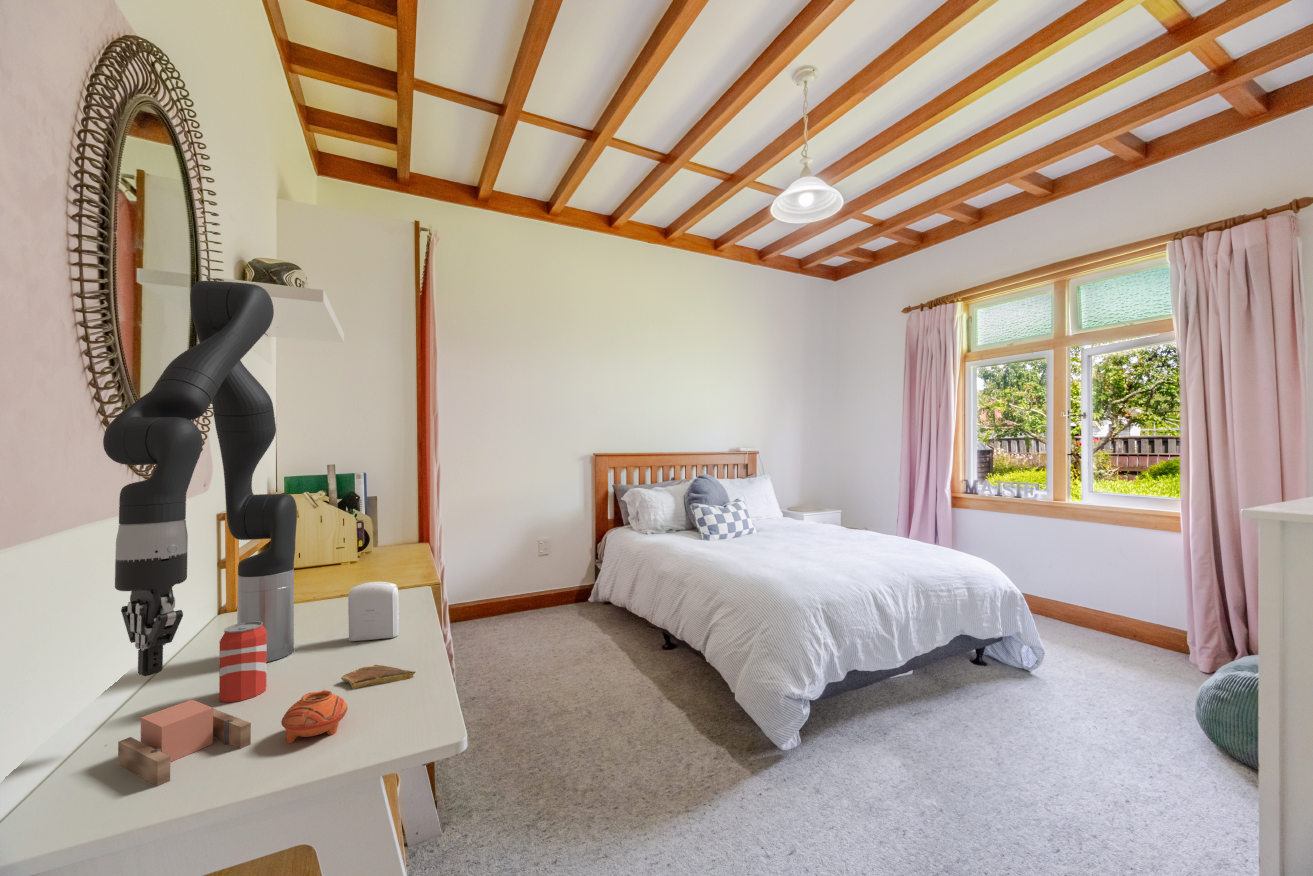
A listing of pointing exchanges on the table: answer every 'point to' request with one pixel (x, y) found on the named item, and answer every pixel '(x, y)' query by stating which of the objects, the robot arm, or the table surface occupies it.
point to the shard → (375, 676)
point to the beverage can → (242, 661)
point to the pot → (314, 715)
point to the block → (179, 729)
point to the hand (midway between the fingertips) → (150, 673)
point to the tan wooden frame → (157, 764)
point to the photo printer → (373, 611)
